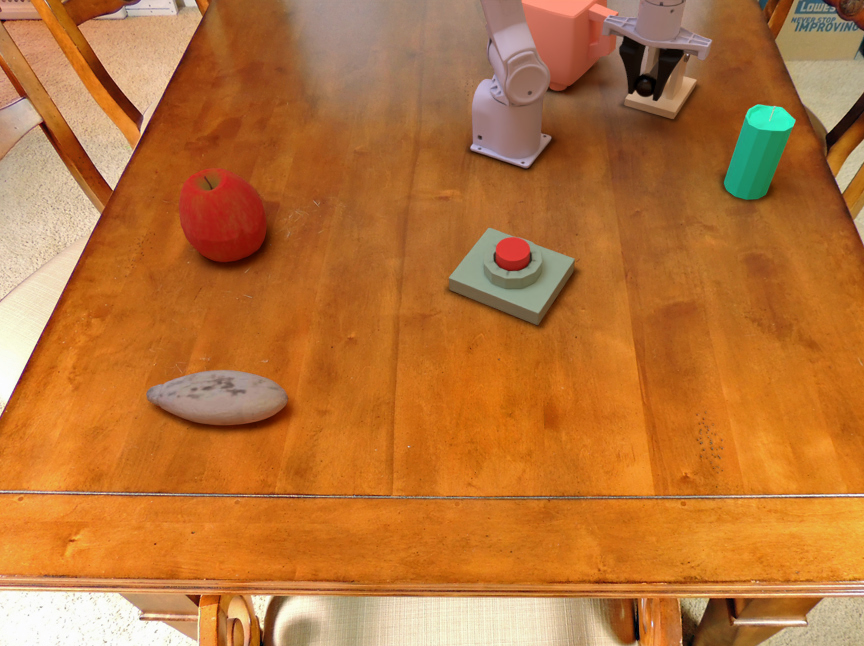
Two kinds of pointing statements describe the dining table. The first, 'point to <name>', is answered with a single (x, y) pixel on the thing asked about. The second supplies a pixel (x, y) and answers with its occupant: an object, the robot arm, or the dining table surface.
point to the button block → (512, 278)
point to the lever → (648, 80)
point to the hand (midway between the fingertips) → (644, 94)
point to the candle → (758, 151)
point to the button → (512, 254)
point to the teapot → (569, 36)
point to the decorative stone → (220, 397)
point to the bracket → (665, 89)
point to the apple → (222, 215)
